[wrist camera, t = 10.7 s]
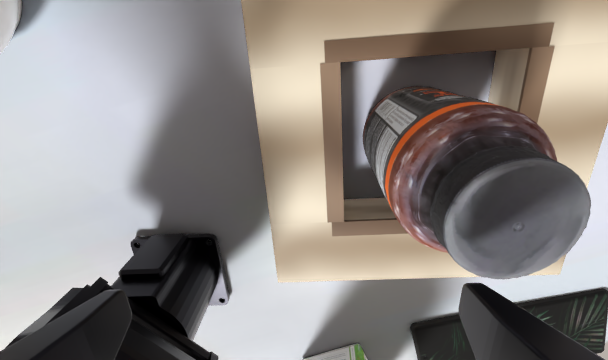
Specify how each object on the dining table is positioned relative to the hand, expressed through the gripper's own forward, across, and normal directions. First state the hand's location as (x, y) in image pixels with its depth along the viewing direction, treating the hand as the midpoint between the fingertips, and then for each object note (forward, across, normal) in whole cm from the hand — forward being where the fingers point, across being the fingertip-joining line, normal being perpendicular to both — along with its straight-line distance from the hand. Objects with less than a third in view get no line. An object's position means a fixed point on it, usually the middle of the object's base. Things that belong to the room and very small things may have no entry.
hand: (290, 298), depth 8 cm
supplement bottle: (+13, -7, -1) cm, 15 cm away
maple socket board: (+13, -7, -1) cm, 14 cm away
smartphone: (+13, -16, +16) cm, 27 cm away
